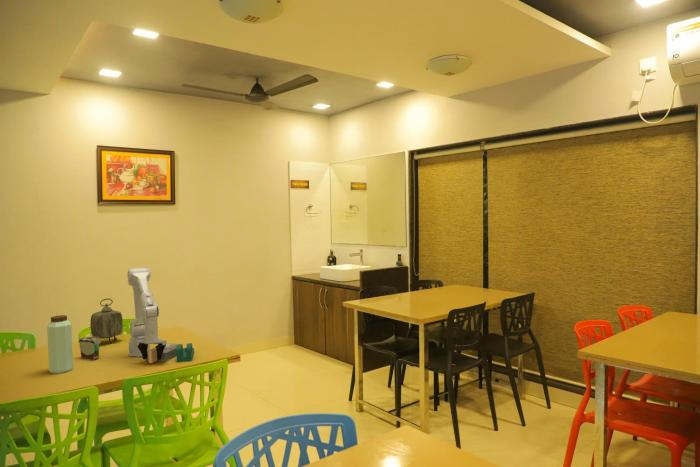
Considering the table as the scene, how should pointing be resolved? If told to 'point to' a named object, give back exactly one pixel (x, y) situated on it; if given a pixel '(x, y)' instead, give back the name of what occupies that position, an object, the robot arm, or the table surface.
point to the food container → (89, 348)
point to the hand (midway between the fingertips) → (152, 359)
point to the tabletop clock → (106, 323)
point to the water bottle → (60, 344)
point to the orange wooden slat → (152, 355)
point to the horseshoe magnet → (167, 353)
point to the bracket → (184, 353)
